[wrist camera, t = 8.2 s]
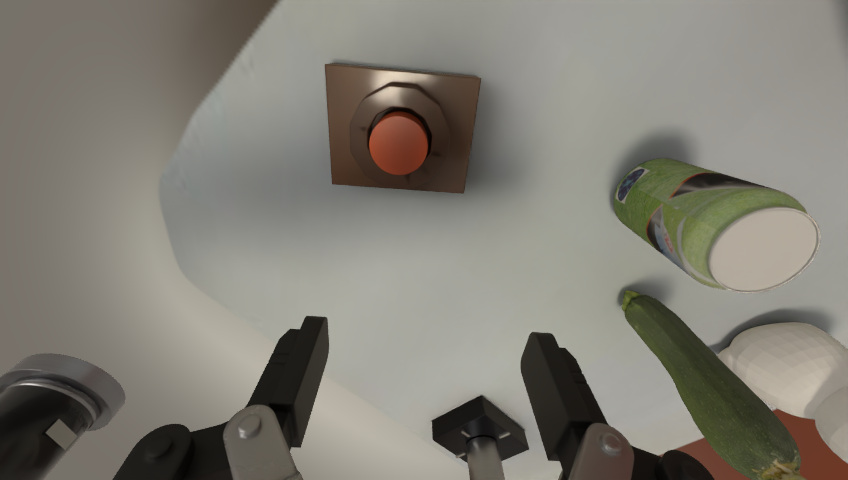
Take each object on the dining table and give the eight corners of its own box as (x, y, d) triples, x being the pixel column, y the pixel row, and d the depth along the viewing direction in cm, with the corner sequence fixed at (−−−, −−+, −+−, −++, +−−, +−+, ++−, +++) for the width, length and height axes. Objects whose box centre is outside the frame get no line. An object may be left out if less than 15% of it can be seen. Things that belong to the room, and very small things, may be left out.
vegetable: (661, 284, 33) (936, 549, 15) (642, 317, 35) (865, 582, 17) (618, 281, 32) (848, 547, 15) (602, 314, 35) (787, 580, 17)
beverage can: (638, 234, 30) (755, 333, 19) (582, 191, 28) (680, 276, 17) (701, 179, 27) (875, 258, 17) (644, 127, 25) (804, 181, 15)
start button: (372, 164, 23) (369, 173, 21) (372, 108, 21) (368, 113, 19) (425, 168, 23) (425, 177, 21) (429, 113, 21) (430, 118, 19)
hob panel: (431, 420, 43) (431, 441, 41) (482, 394, 41) (485, 415, 39) (475, 451, 47) (478, 472, 45) (524, 429, 45) (530, 450, 42)
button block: (338, 175, 27) (326, 193, 23) (332, 62, 23) (316, 65, 19) (460, 183, 27) (466, 203, 24) (476, 75, 23) (486, 80, 20)
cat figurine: (805, 355, 38) (1005, 513, 25) (689, 379, 40) (820, 538, 27) (825, 298, 34) (1079, 453, 21) (694, 328, 36) (853, 488, 23)
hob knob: (486, 432, 41) (494, 481, 36) (503, 446, 42) (514, 494, 37) (459, 444, 42) (464, 492, 37) (477, 457, 43) (484, 505, 39)
